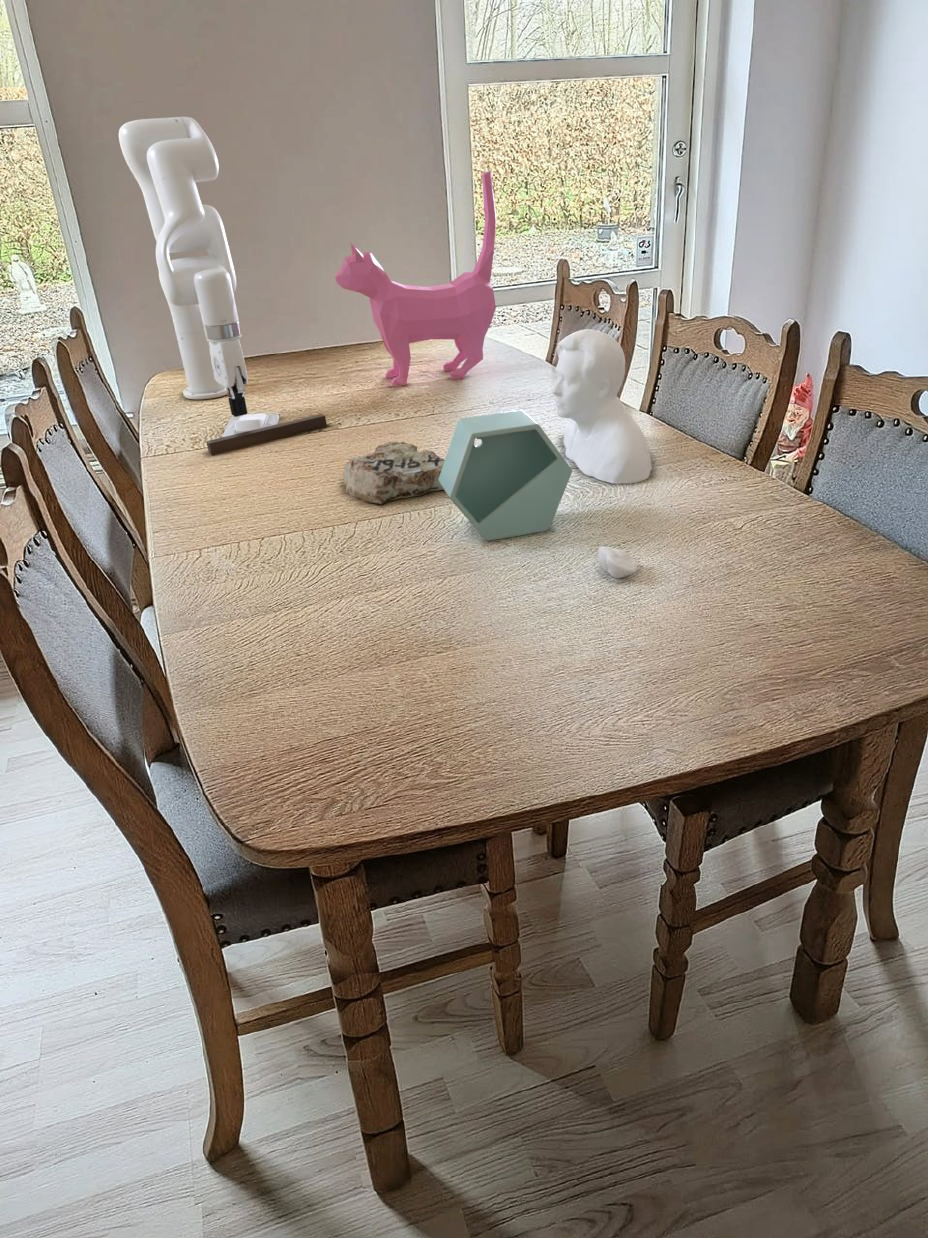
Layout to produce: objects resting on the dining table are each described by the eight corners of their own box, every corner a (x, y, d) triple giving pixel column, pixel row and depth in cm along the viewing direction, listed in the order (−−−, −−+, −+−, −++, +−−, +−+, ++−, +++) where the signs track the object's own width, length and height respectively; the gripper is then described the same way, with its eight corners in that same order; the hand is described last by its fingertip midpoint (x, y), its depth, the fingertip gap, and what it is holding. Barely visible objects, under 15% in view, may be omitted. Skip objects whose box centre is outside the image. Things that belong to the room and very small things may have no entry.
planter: (506, 564, 136) (427, 472, 125) (492, 544, 143) (416, 454, 132) (591, 495, 134) (517, 395, 123) (573, 478, 140) (502, 381, 129)
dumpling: (588, 570, 124) (592, 543, 122) (621, 569, 125) (625, 543, 124) (610, 583, 117) (613, 554, 116) (644, 582, 119) (648, 554, 118)
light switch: (218, 427, 182) (228, 406, 193) (222, 446, 184) (232, 424, 195) (269, 423, 182) (277, 402, 193) (272, 442, 185) (280, 420, 195)
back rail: (208, 452, 178) (206, 441, 176) (323, 424, 189) (321, 413, 188) (211, 455, 176) (209, 443, 175) (327, 426, 188) (325, 415, 186)
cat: (346, 381, 219) (320, 183, 196) (495, 362, 226) (487, 169, 203) (352, 394, 208) (325, 186, 185) (509, 374, 215) (502, 171, 192)
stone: (359, 484, 143) (319, 438, 162) (363, 515, 146) (323, 467, 165) (465, 462, 149) (414, 421, 168) (466, 493, 152) (416, 449, 171)
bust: (520, 445, 170) (516, 321, 158) (605, 427, 175) (607, 306, 163) (591, 492, 147) (593, 352, 135) (686, 470, 153) (695, 334, 141)
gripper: (195, 329, 190) (213, 411, 199) (217, 339, 179) (235, 425, 188) (227, 323, 193) (244, 404, 202) (251, 333, 182) (267, 418, 191)
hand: (239, 414), depth 195 cm, fingers closed
